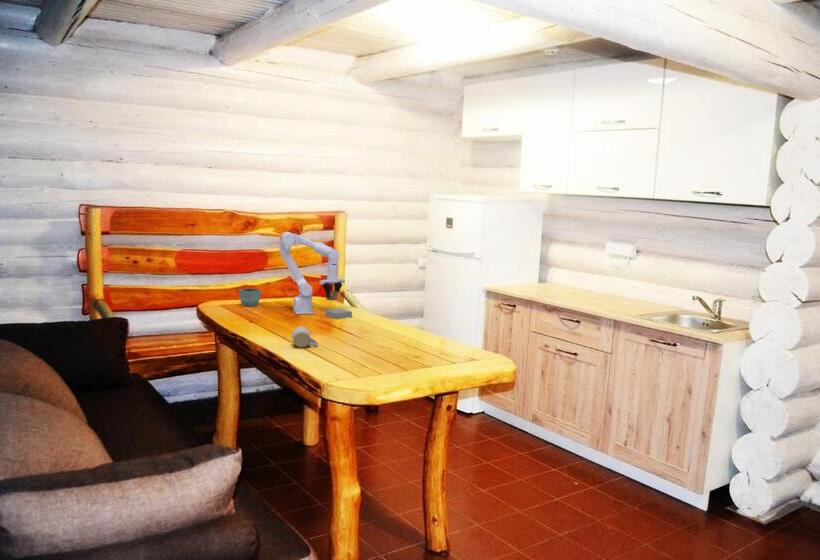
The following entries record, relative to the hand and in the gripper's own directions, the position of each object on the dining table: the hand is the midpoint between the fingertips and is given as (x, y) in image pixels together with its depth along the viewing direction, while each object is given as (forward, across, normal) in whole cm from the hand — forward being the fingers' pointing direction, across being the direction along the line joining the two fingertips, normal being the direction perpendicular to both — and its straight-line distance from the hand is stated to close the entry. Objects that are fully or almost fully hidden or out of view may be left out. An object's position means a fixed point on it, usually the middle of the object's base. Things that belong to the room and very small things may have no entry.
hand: (332, 296), depth 365 cm
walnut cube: (+1, 0, 0) cm, 1 cm away
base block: (+8, -3, -12) cm, 15 cm away
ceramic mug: (+9, -51, -60) cm, 79 cm away
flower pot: (+9, -30, +37) cm, 48 cm away
